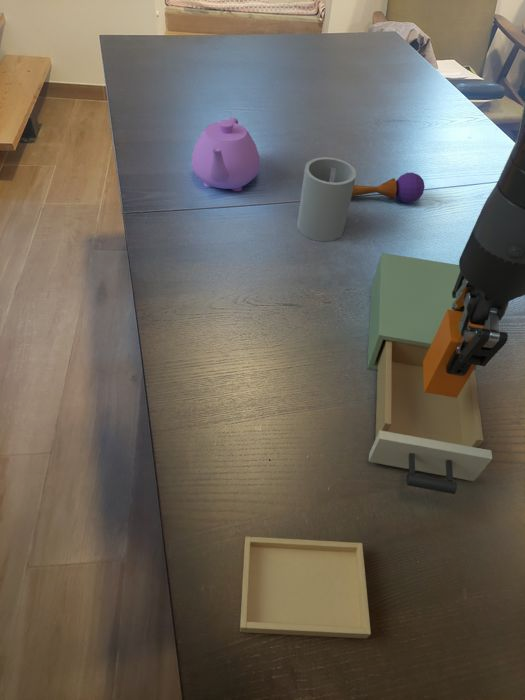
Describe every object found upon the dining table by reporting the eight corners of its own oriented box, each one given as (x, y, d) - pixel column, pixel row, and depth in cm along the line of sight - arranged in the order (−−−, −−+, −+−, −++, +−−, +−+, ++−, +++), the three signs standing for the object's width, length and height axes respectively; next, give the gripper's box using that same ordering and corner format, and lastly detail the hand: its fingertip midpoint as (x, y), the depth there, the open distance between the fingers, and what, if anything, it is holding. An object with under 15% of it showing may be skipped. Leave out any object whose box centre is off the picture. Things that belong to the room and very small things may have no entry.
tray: (358, 549, 59) (362, 542, 57) (366, 638, 53) (371, 634, 51) (244, 542, 58) (245, 536, 57) (239, 632, 52) (240, 627, 51)
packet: (457, 398, 62) (488, 346, 55) (424, 392, 62) (450, 340, 55) (453, 367, 65) (482, 314, 58) (422, 361, 66) (447, 309, 58)
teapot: (249, 212, 101) (252, 154, 92) (179, 202, 102) (175, 144, 92) (265, 161, 114) (269, 106, 105) (203, 153, 115) (201, 97, 105)
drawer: (477, 512, 62) (497, 491, 57) (367, 492, 63) (378, 469, 58) (462, 374, 76) (477, 349, 71) (372, 359, 77) (381, 333, 72)
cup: (303, 243, 96) (312, 185, 86) (292, 214, 101) (299, 158, 92) (349, 239, 97) (363, 183, 88) (336, 212, 103) (347, 156, 94)
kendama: (325, 172, 105) (421, 167, 106) (324, 200, 109) (416, 195, 109) (330, 182, 100) (430, 178, 101) (328, 211, 104) (425, 206, 105)
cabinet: (464, 385, 76) (485, 352, 70) (367, 368, 77) (379, 334, 71) (455, 301, 88) (472, 266, 82) (371, 287, 89) (381, 252, 83)
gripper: (574, 293, 42) (492, 409, 55) (542, 200, 52) (478, 317, 65) (483, 279, 43) (423, 397, 56) (467, 189, 52) (418, 307, 65)
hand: (452, 353), depth 60 cm, fingers closed on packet, 5 cm apart
